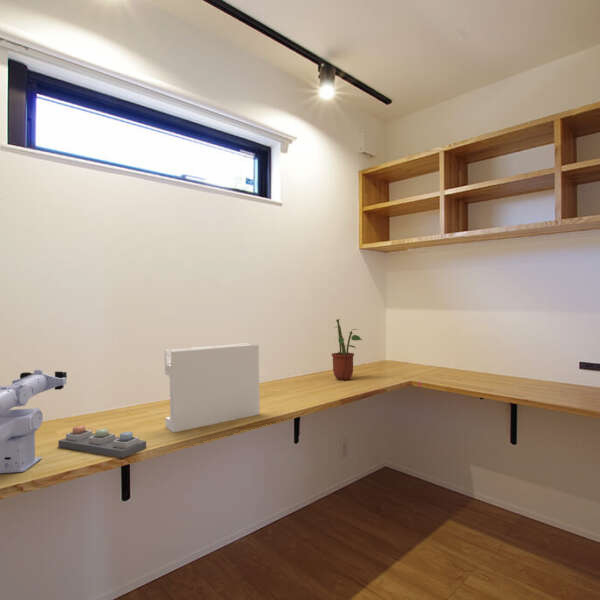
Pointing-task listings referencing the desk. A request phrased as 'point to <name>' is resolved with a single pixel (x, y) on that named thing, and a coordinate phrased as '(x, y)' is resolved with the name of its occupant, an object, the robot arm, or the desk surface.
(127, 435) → the slate button
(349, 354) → the potted plant
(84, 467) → the desk surface
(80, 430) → the terracotta button
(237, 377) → the block
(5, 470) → the robot arm
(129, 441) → the button panel
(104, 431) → the sage button
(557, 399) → the desk surface
